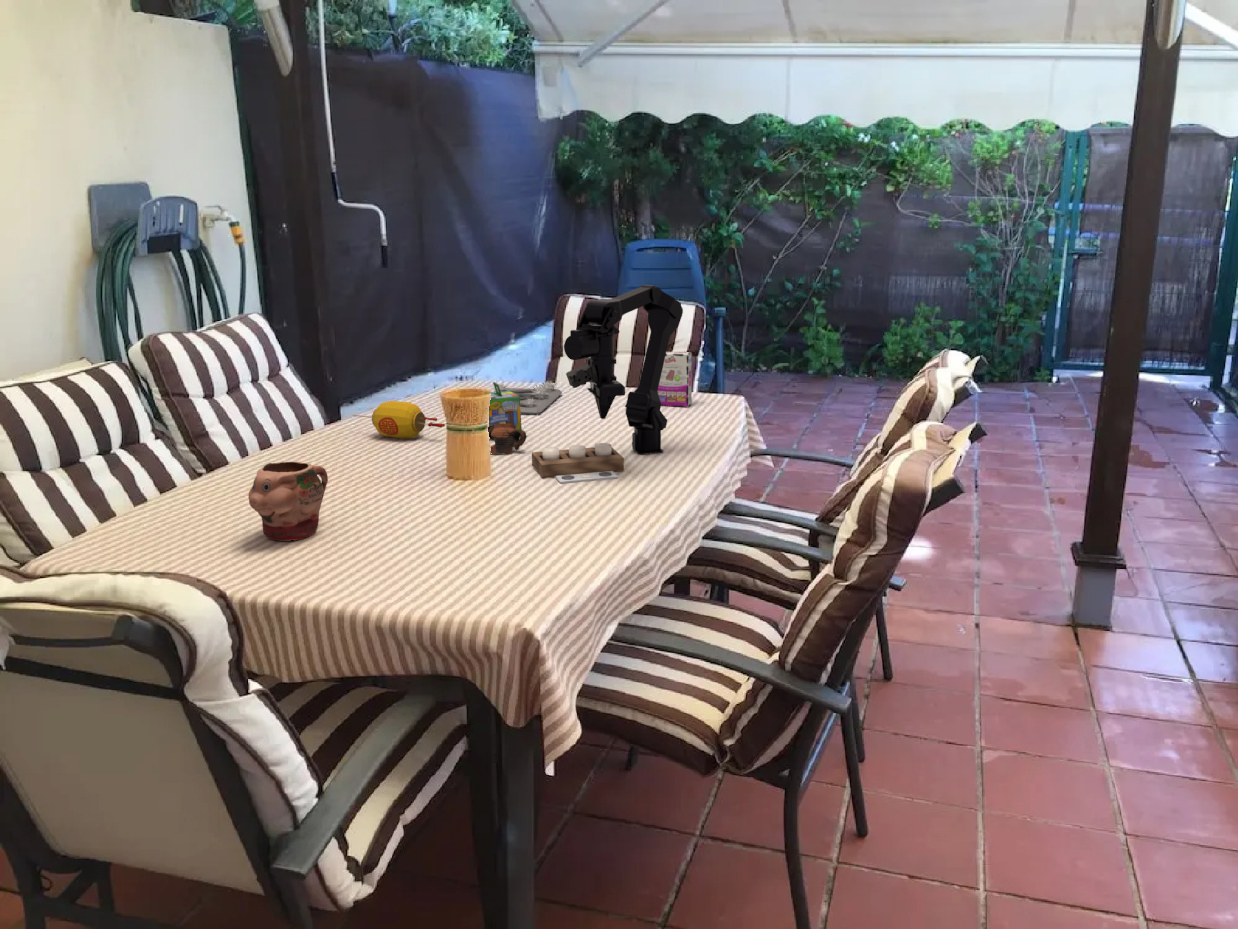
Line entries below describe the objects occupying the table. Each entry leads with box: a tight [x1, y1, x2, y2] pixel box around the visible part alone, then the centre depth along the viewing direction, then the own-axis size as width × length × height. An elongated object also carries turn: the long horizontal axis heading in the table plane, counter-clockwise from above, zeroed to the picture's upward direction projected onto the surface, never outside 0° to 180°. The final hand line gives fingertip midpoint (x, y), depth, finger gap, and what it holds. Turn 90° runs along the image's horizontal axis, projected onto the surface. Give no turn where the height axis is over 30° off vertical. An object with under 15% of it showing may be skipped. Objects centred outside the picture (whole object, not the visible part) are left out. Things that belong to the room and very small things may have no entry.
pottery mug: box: [488, 424, 527, 455], centre depth 263 cm, size 12×10×8 cm
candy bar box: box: [658, 351, 693, 408], centre depth 313 cm, size 11×5×16 cm, turn 73°
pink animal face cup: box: [248, 461, 329, 542], centre depth 202 cm, size 20×12×14 cm, turn 159°
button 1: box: [541, 446, 560, 461], centre depth 245 cm, size 4×4×3 cm
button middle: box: [568, 444, 586, 459], centre depth 246 cm, size 4×4×3 cm
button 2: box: [594, 442, 612, 456], centre depth 248 cm, size 4×4×3 cm
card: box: [554, 471, 619, 484], centre depth 239 cm, size 14×5×1 cm, turn 106°
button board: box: [531, 446, 625, 479], centre depth 247 cm, size 20×12×3 cm, turn 106°
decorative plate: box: [497, 380, 563, 416], centre depth 318 cm, size 30×22×7 cm
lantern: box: [352, 400, 446, 440], centre depth 277 cm, size 10×10×30 cm
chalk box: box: [489, 381, 523, 441], centre depth 277 cm, size 9×9×15 cm
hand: (602, 418), depth 246 cm, fingers closed
